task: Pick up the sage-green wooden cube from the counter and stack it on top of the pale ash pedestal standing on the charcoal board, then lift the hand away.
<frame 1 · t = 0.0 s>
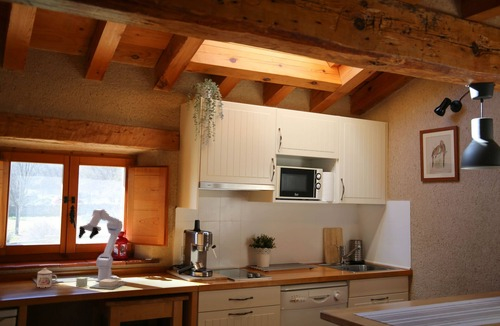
hand: (84, 237, 319), 32 cm above the counter, tool tilted 50°, fingers open, 7 cm apart
stacking base: (108, 286, 326), on the counter
sage cube: (81, 285, 326), on the counter
teacup with lid: (46, 286, 320), on the counter
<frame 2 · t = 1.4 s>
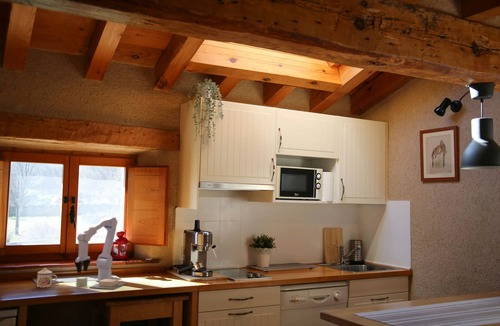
hand: (82, 271, 326), 9 cm above the counter, tool pointing down, fingers open, 7 cm apart
nothing on the counter moved.
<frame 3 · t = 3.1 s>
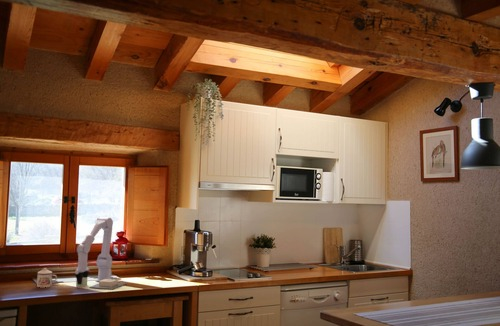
hand: (81, 283, 326), 1 cm above the counter, tool pointing down, fingers closed on sage cube, 5 cm apart
sage cube: (81, 285, 326), on the counter, touching gripper
everything else where it was.
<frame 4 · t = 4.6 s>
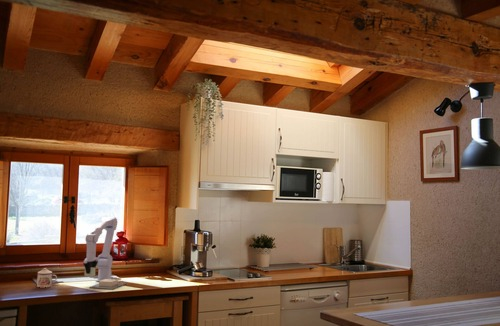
hand: (90, 272, 326), 8 cm above the counter, tool pointing down, fingers closed on sage cube, 5 cm apart
sage cube: (89, 275, 326), point 7 cm above the counter, touching gripper
everything else where it was.
when the fingers open (7 cm above the counter, at t = 6.6 s): sage cube stays where it is, resting on stacking base.
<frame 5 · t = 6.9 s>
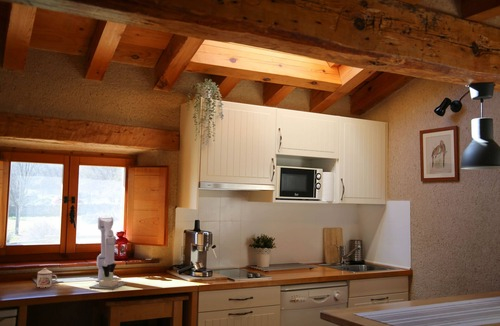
hand: (108, 275, 326), 7 cm above the counter, tool pointing down, fingers open, 7 cm apart
sage cube: (107, 280, 326), point 4 cm above the counter, touching stacking base
everything else where it was.
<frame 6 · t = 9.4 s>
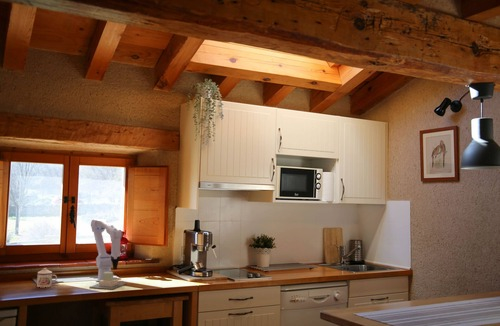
hand: (115, 268, 334), 10 cm above the counter, tool pointing down, fingers open, 7 cm apart
nothing on the counter moved.
at the end: sage cube 0.5 cm off-centre on the stacking base, point 3.8 cm above the stacking base's base; sage cube tilted 0°; the gripper is holding nothing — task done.
